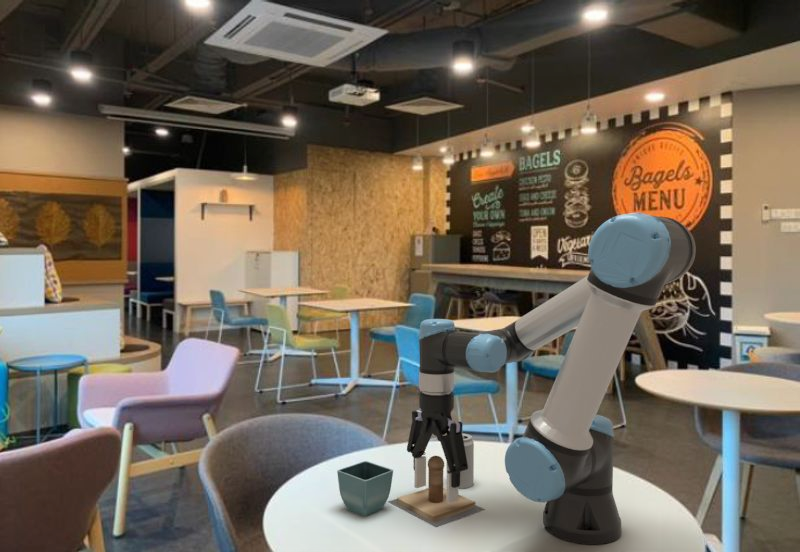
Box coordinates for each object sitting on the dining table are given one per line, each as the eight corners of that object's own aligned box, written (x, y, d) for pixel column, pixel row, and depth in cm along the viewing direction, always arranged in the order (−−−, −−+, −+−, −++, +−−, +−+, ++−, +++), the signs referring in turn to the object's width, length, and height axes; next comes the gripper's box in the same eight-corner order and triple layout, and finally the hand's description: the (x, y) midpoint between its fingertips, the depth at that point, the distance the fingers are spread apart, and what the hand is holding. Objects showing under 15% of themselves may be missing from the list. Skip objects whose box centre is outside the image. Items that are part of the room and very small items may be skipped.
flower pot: (394, 510, 130) (394, 469, 130) (365, 524, 124) (365, 480, 123) (365, 499, 136) (365, 460, 136) (335, 512, 129) (336, 470, 129)
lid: (475, 507, 131) (475, 457, 130) (433, 522, 123) (433, 469, 123) (437, 490, 140) (438, 444, 140) (396, 503, 133) (397, 454, 132)
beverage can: (472, 492, 141) (472, 441, 140) (444, 490, 142) (445, 439, 141) (474, 482, 147) (474, 433, 146) (448, 480, 148) (448, 431, 148)
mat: (485, 512, 130) (485, 509, 130) (436, 530, 121) (436, 527, 121) (435, 489, 142) (435, 486, 142) (387, 504, 134) (387, 501, 134)
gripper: (486, 398, 124) (485, 506, 125) (416, 380, 142) (416, 475, 143) (460, 403, 120) (459, 515, 120) (391, 384, 137) (390, 482, 138)
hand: (435, 493), depth 131 cm, fingers open, 10 cm apart
